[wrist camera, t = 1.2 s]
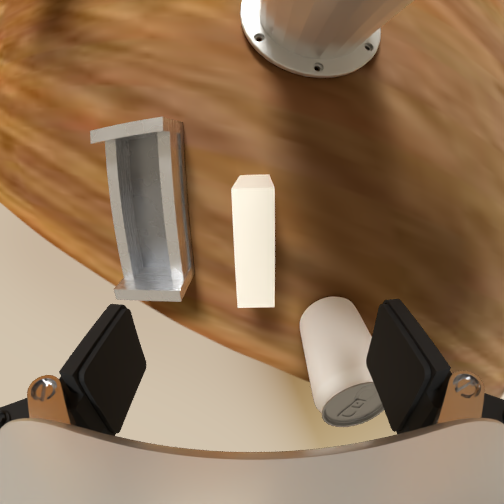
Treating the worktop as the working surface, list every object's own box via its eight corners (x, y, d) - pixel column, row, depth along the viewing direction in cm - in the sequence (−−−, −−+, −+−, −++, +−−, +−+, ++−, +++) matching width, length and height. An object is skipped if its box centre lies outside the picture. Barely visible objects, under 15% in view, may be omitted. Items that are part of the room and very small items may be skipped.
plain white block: (239, 175, 24) (230, 188, 16) (269, 174, 23) (275, 187, 16) (242, 261, 26) (237, 307, 19) (270, 261, 26) (275, 307, 19)
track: (121, 131, 22) (90, 131, 17) (183, 122, 22) (162, 116, 17) (138, 272, 27) (116, 299, 22) (194, 272, 27) (181, 301, 22)
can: (367, 305, 28) (413, 384, 17) (337, 349, 30) (363, 432, 19) (317, 285, 27) (349, 371, 16) (288, 333, 29) (300, 424, 18)
